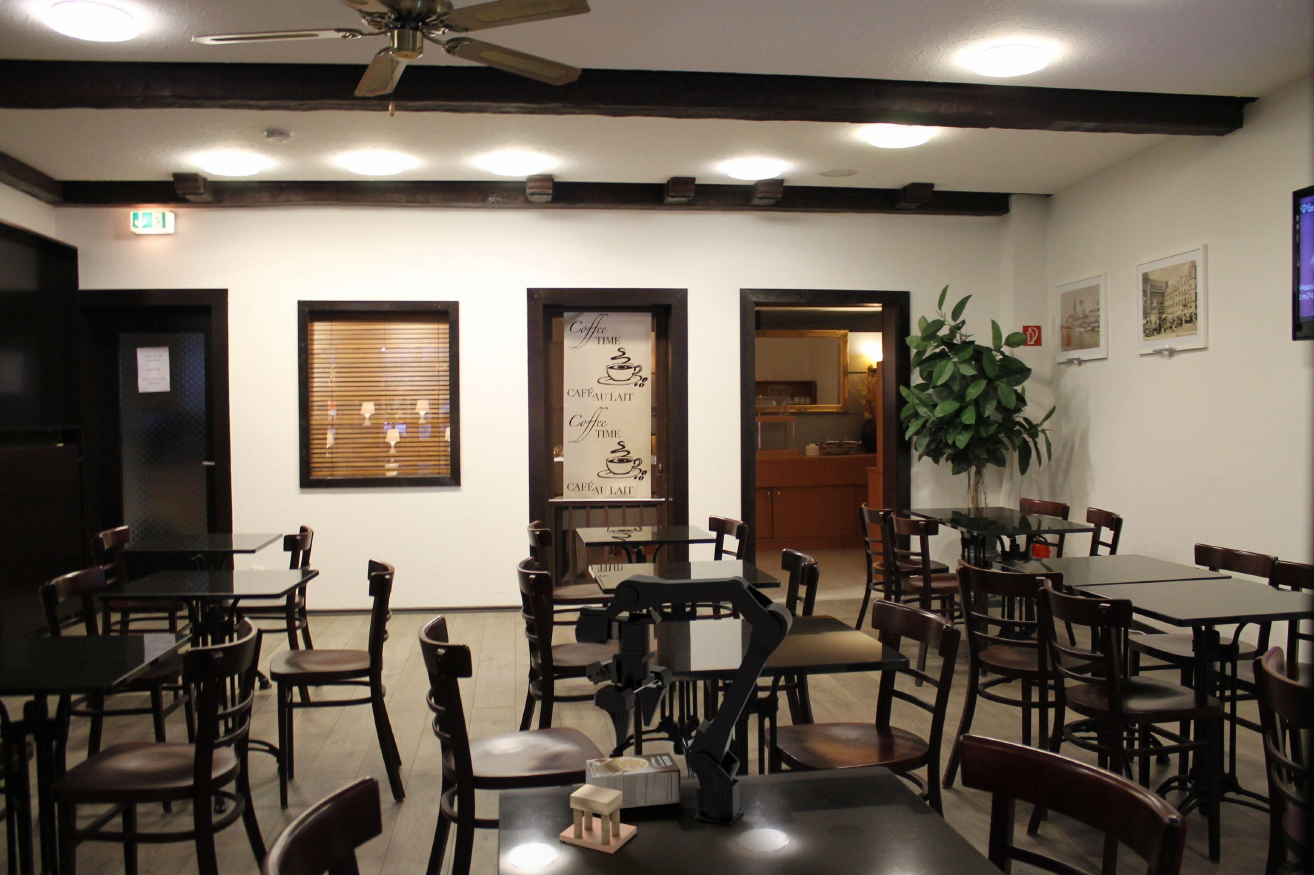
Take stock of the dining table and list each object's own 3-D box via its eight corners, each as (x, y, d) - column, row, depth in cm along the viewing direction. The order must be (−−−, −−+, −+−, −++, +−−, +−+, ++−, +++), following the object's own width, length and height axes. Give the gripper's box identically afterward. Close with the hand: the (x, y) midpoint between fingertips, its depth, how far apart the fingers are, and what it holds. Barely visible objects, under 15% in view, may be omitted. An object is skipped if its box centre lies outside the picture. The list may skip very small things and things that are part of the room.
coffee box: (585, 758, 165) (669, 750, 169) (585, 792, 165) (669, 784, 169) (592, 777, 156) (681, 768, 160) (593, 813, 156) (681, 804, 160)
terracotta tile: (636, 832, 149) (636, 826, 149) (612, 853, 142) (612, 847, 142) (585, 821, 153) (585, 815, 153) (559, 840, 146) (559, 834, 146)
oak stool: (623, 833, 146) (622, 791, 146) (607, 846, 142) (607, 803, 142) (586, 825, 150) (586, 784, 149) (570, 837, 145) (570, 795, 145)
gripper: (620, 631, 171) (621, 712, 171) (567, 654, 154) (568, 743, 154) (672, 637, 166) (673, 720, 166) (623, 661, 149) (624, 754, 149)
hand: (634, 734), depth 159 cm, fingers open, 9 cm apart
